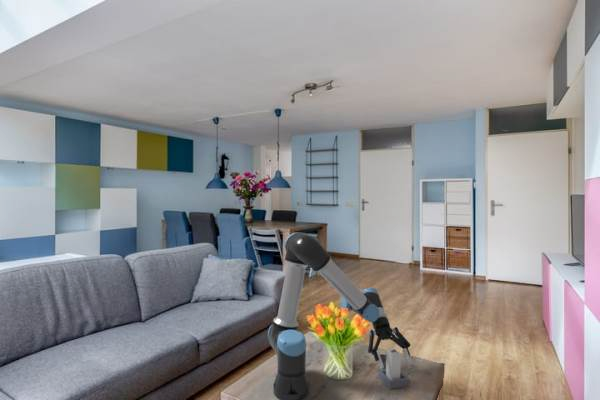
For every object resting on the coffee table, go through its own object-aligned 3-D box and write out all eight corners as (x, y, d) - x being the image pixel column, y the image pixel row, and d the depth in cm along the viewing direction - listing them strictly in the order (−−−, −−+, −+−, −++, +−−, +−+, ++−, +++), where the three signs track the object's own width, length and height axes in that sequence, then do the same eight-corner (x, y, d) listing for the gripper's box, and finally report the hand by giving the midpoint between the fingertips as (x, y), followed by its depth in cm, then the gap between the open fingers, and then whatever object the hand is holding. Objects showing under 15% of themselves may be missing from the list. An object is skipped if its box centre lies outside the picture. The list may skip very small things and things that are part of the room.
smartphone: (381, 369, 165) (376, 354, 180) (381, 371, 165) (376, 356, 180) (398, 369, 164) (391, 354, 179) (398, 371, 164) (391, 356, 179)
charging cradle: (389, 389, 149) (389, 382, 149) (377, 376, 159) (377, 370, 159) (409, 385, 151) (409, 378, 151) (396, 373, 161) (396, 367, 161)
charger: (392, 382, 152) (392, 353, 152) (386, 376, 157) (386, 348, 157) (400, 381, 153) (400, 352, 153) (394, 375, 158) (394, 347, 158)
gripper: (399, 320, 173) (417, 365, 159) (352, 325, 166) (366, 373, 152) (405, 313, 168) (424, 359, 154) (357, 318, 161) (373, 367, 147)
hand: (396, 366), depth 153 cm, fingers open, 13 cm apart
